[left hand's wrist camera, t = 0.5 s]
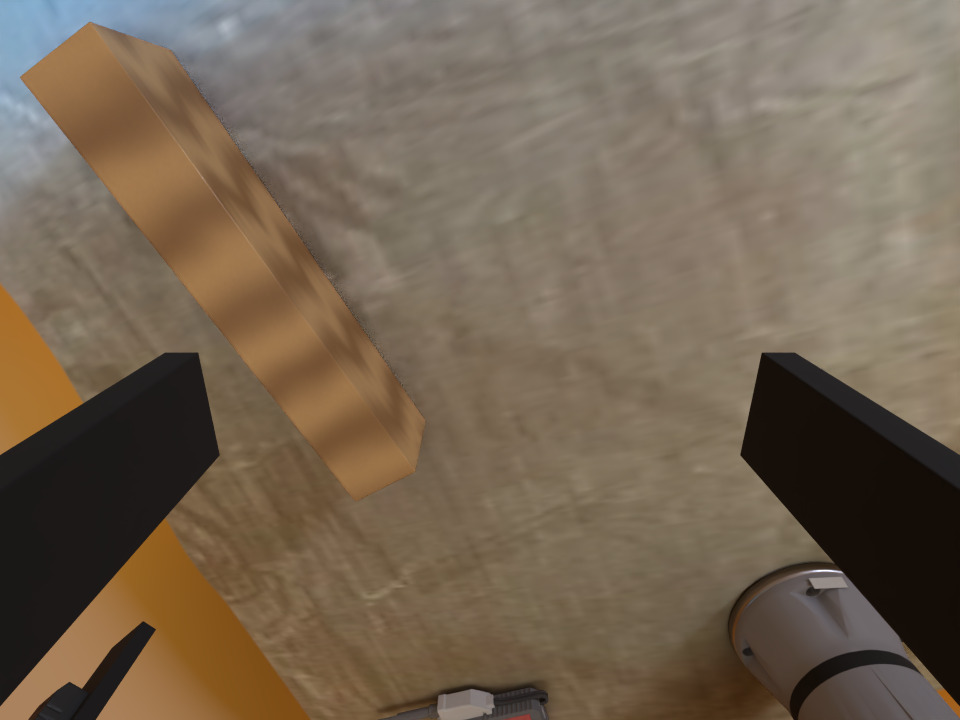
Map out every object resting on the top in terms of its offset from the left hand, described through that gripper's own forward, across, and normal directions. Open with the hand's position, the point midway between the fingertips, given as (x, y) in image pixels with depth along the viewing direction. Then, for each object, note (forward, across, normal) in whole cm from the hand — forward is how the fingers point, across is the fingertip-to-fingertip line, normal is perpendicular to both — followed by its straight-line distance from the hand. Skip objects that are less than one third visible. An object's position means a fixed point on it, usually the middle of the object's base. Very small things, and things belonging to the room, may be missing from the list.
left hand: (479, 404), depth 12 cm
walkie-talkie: (+31, -1, -55) cm, 63 cm away
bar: (+31, -16, -4) cm, 35 cm away
